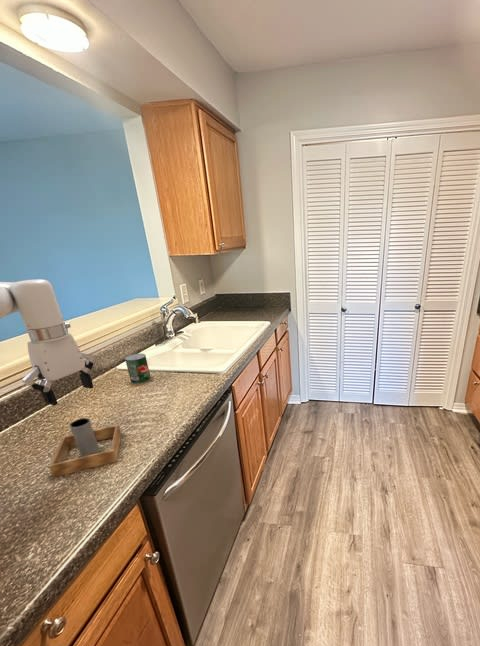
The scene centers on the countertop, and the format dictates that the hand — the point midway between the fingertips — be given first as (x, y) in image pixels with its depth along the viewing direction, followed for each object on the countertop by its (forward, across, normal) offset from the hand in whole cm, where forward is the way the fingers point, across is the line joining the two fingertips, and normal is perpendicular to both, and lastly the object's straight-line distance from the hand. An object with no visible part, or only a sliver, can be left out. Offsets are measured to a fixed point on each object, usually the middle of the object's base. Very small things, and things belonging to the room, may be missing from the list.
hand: (71, 395), depth 85 cm
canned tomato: (+19, -44, -27) cm, 55 cm away
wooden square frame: (+18, 0, 0) cm, 18 cm away
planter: (+19, 0, 0) cm, 19 cm away
